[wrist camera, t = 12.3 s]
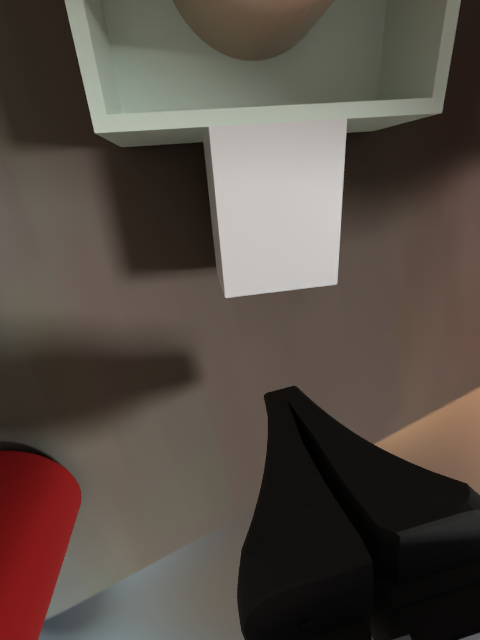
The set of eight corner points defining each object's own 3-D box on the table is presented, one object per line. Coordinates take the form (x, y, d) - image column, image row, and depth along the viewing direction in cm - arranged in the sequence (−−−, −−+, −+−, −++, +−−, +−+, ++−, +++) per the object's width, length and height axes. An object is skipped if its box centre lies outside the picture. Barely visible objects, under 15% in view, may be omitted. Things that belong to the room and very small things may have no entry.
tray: (411, -289, 9) (560, -597, 5) (362, 252, 15) (415, 274, 11) (26, -328, 8) (-108, -756, 4) (147, 277, 14) (134, 309, 10)
